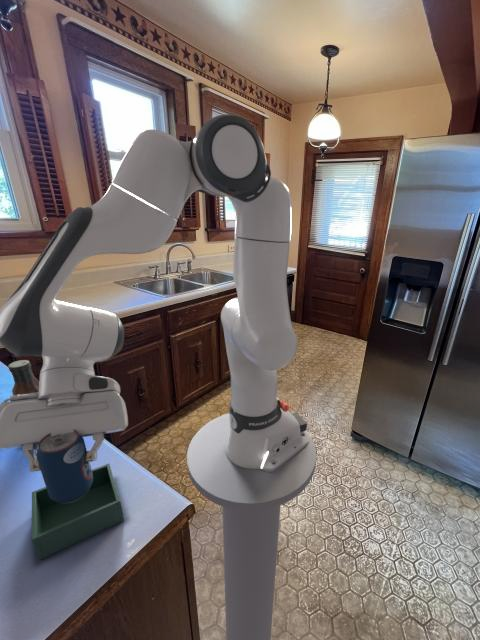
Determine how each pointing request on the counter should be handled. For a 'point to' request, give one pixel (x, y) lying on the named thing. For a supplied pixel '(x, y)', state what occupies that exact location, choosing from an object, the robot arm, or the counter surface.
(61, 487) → the soda can
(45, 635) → the counter surface
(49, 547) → the bin
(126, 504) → the counter surface
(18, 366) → the sauce bottle
